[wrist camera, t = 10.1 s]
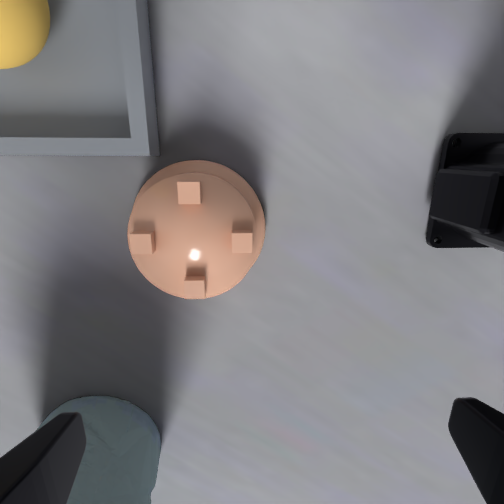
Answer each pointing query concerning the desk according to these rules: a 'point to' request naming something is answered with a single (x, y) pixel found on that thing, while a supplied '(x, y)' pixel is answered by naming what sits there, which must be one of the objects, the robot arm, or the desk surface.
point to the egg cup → (196, 229)
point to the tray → (84, 85)
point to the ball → (22, 30)
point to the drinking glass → (114, 452)
